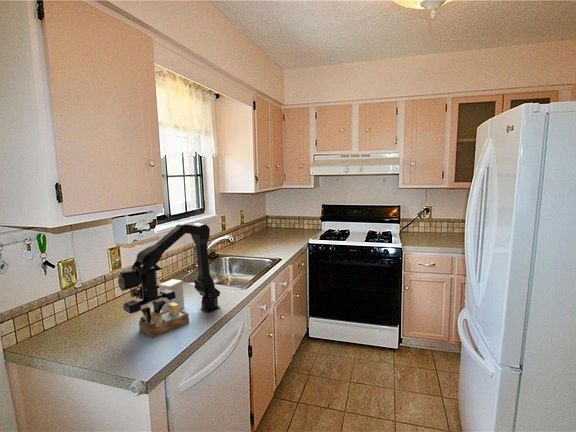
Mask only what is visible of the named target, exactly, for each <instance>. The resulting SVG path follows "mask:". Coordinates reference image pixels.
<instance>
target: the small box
mask: <svg viewBox="0 0 576 432" xmlns="http://www.w3.org/2000/svg"><path fill="white" fill-rule="evenodd" d="M158 285H159V292H160V291H163V290H166V289H169V290H172V291H174V292H175V294H176V298H174V299H172V300H168V299H167V297H166V298H164V301H165V302H166V304H164V305H163V307H162V309H161V313H162V312H164V311H167V310H169V307H168V304H169V303H172V302H174V303H177V304H179V309H180V310H182V309H184V308H185V300H184V287H183V285H184V284H183V280H181V279H172V278H171V279H170V280H166V281H165V282H163V283H161V284H158Z"/></svg>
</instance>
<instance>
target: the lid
mask: <svg viewBox="0 0 576 432" xmlns="http://www.w3.org/2000/svg"><path fill="white" fill-rule="evenodd" d="M168 307H169V312H167V313H164V314H162V320H163V319H164V320H165V322H166V321H168V320H171V319H173V318H176V317H178V316H181V315H183V314H182V313H180V312H179V304H177V303H174V302H172V303H169V304H168ZM143 322H145V323H147V324H148V325H150V326H152V324H151V323H149V322H147V321H143Z"/></svg>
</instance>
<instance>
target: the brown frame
mask: <svg viewBox="0 0 576 432" xmlns="http://www.w3.org/2000/svg"><path fill="white" fill-rule="evenodd" d="M167 312H169V310H167V311H164V312H162V311H161V312H160V313H159V314H160V315H162V314H164V313H167ZM179 312H180V313H182V314H183V315H181V316H178V317H176V318H173V319H171V320H168V321H166V322H165V320H164V319H163V320H162V322H163V325H160V326H158V327H156V326H155V324H154V323H153V324H152V326H150V325H148V324H147V323H145V322H143V321H145V320H144V319H143V316H141V317H139V319H140V320H139V321H138V325H139V331H140V332H142V333H143V334H145V335H147V336H148V337H149V338H152V339H154V338H156V337H159V336H161V335H164V334H166V333H168V332H171V331H173V330H175V329H177V328H179V327H181V326H184V325H186V324H189V323H190V320H189V319H190V318H189V313H188V312H186V311H184V310H182V309H179Z"/></svg>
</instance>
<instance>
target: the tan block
mask: <svg viewBox="0 0 576 432" xmlns="http://www.w3.org/2000/svg"><path fill="white" fill-rule="evenodd" d="M141 314H142V316H141V317H143V319H144V320H145V321H147V319H146V317H145V315H144V314H143V312H142V311H141ZM150 316H151V320H150V323H151V324H153V323H154V324H155V326H156V327H158V326H160V325H163V322H162V315H160V314H158V313H156V312H154V310H152V309H150ZM147 322H148V321H147Z"/></svg>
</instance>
